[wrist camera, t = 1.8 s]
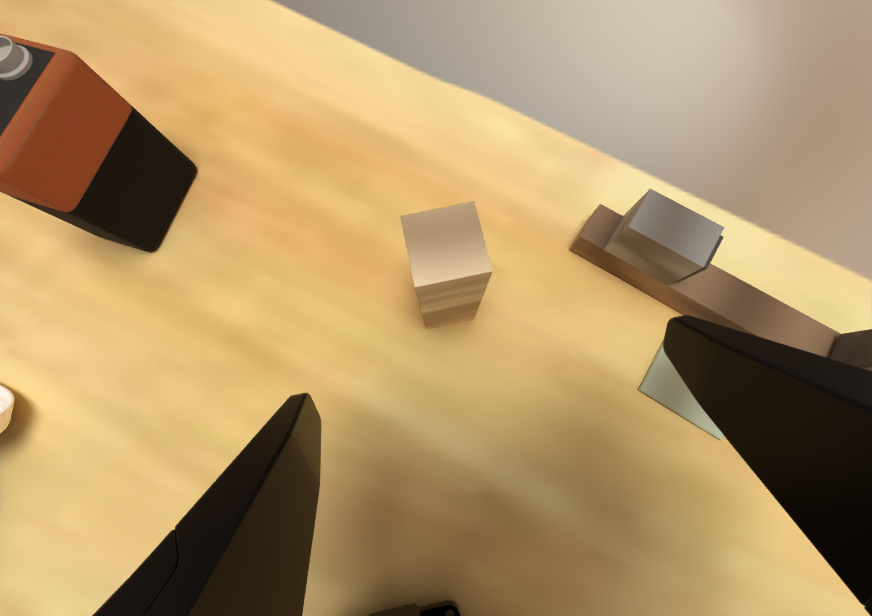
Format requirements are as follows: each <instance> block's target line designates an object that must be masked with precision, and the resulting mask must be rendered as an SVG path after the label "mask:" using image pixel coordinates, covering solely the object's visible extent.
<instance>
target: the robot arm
mask: <svg viewBox="0 0 872 616" xmlns="http://www.w3.org/2000/svg"><path fill="white" fill-rule="evenodd" d="M663 349H664V352H665V354H666V356H667V357H668V359H669V360H670V362H671V363H672V365H673V366H674V368H675V369H676V371H677V372H678V374H679V375H680V377H681V379H682V380H683V382H684V383H685V385H686V386H687V388H688V389H689V391H690V392H691V394H692V395H693V397H694V398H695V399H696V401H697V402H698V404H699V405H700V406H701V408H702V409H703V410H704V412H705V413H706V414H707V415H708V417H709V418H710V419H711V420H712V421H713V423H714V424H715V425H716V426H717V428H718V429H719V430H720V431H721V432H722V434H723V435H724V436H725V437H726V439H727V440H728V441H729V442H730V444H731V445H732V446H733V447H734V448H735V450H736V451H737V452H738V453H739V455H740V456H741V457H742V458H743V459H744V461H745V462H746V463H747V464H748V466H749V467H750V468H751V469H752V471H753V472H754V473H755V474H756V475H757V477H758V478H759V479H760V480H761V482H762V483H763V484H764V485H765V486H766V488H767V489H768V490H769V491H770V493H771V494H772V495H773V496H774V497H775V499H776V500H777V501H778V502H779V504H780V505H781V506H782V507H783V509H784V510H785V511H786V512H787V513H788V515H789V516H790V517H791V518H792V520H793V521H794V522H795V523H796V524H797V526H798V527H799V528H800V529H801V531H802V532H803V533H804V534H805V536H806V537H807V538H808V539H809V540H810V542H811V543H812V544H813V545H814V547H815V548H816V549H817V550H818V551H819V553H820V554H821V555H822V556H823V558H824V559H825V560H826V561H827V562H828V564H829V565H830V566H831V567H832V569H833V570H834V571H835V572H836V574H837V575H838V576H839V577H840V578H841V580H842V581H843V582H844V583H845V585H846V586H847V587H848V588H849V589H850V591H851V592H852V593H853V594H854V596H855V597H856V598H857V599H858V601H859V602H860V603H861V604H862V605H864V606H865V607H864V608H865V610H866V611H867V612H868V613H869V614H870V616H872V371H870V370H866V369H863V368H860V367H857V366H853V365H850V364H847V363H844V362H840V361H837V360H834V359H830V358H827V357H824V356H821V355H817V354H814V353H811V352H808V351H804V350H801V349H798V348H794V347H791V346H788V345H785V344H781V343H778V342H775V341H772V340H768V339H765V338H762V337H759V336H755V335H752V334H749V333H746V332H742V331H739V330H736V329H732V328H729V327H726V326H723V325H719V324H716V323H713V322H710V321H706V320H703V319H700V318H697V317H693V316H690V315H683V316H678V317H674V318H671V319H670V320H669V321H668V323H667V328H666V332H665V337H664V341H663ZM320 462H321V418H320V415H319V413H318V411H317V409H316V406H315V404H314V402H313V400H312V398H311V396H310V395H309V394H308V393H301V394H296V395H292V396H290V397H289V398H288V399H287V400H286V401H285V403H284V404H283V405H282V406H281V407H280V408H279V409H278V410H277V412H276V413H275V414H274V415H273V416H272V417H271V418H270V420H269V421H268V422H267V423H266V424H265V425H264V426H263V427H262V429H261V430H260V431H259V432H258V433H257V434H256V435H255V437H254V438H253V439H252V440H251V441H250V442H249V443H248V444H247V446H246V447H245V448H244V449H243V450H242V451H241V452H240V454H239V455H238V456H237V457H236V458H235V459H234V460H233V461H232V463H231V464H230V465H229V466H228V467H227V468H226V469H225V471H224V472H223V473H222V474H221V475H220V476H219V477H218V478H217V480H216V481H215V482H214V483H213V484H212V485H211V486H210V488H209V489H208V490H207V491H206V492H205V493H204V494H203V495H202V497H201V498H200V499H199V500H198V501H197V502H196V503H195V505H194V506H193V507H192V508H191V509H190V510H189V511H188V512H187V514H186V515H185V516H184V517H183V518H182V519H181V520H180V522H179V523H178V524H177V525H176V526H175V530H172V531H171V532H170V533H169V534H168V535H167V536H166V537H165V538H164V539H163V541H162V542H161V543H160V544H159V545H158V546H157V547H156V549H155V550H154V551H153V552H152V553H151V554H150V555H149V556H148V557H147V558H146V559H145V561H144V562H143V563H142V564H141V565H140V566H139V567H138V568H137V569H136V570H135V572H134V573H133V574H132V575H131V576H130V577H129V578H128V579H127V580H126V581H125V582H124V583H123V584H122V585H121V586H120V587H119V588H118V590H117V591H116V592H115V593H114V594H113V595H112V596H111V597H110V598H109V599H108V600H107V601H106V602H105V603H104V604H103V605H102V606H101V607H100V608H99V609H98V610H97V611H96V612H95V613H94V614H93V615H92V616H302V613H303V606H304V598H305V591H306V584H307V576H308V569H309V562H310V555H311V547H312V540H313V533H314V525H315V518H316V511H317V503H318V496H319V487H320ZM448 610H452V611H453V612H454V616H461V615H460V610H459V607H458V605H457V604H456V603H455V602H454V601H444V602H440V603H435V604H431V605H427V606H422V607H420V606H418V605H416V604H411V605H407V606H402V607H398V608H394V609H389V610H385V611H381V612H376V613H372V614H369V616H446V614H445V613H446V612H447V611H448Z"/></svg>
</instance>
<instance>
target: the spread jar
mask: <svg viewBox="0 0 872 616" xmlns="http://www.w3.org/2000/svg"><path fill="white" fill-rule="evenodd" d="M13 405H14V395H13V394H12V392H11V391H10V390H8V389H7V388H6V387H4V386H1V385H0V433H1V432H3V431H4V430H5V429H6V428H7V426H8V425H9V423H10V420H11V415H12V410H13Z"/></svg>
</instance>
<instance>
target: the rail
mask: <svg viewBox="0 0 872 616" xmlns="http://www.w3.org/2000/svg"><path fill="white" fill-rule="evenodd" d="M723 229H724V227H723V226H721V225H719V224H717V223H715V222H713V221H711V220H709V219H707V218H705V217H703V216H702V215H700V214H698V213H696V212H694V211H692V210H690V209H688V208H686V207H684V206H682V205H680V204H679V203H677V202H675V201H673V200H671V199H669V198H667V197H665V196H663V195H661V194H659V193H658V192H656V191H654V190H652V189H650V190H649V191H648V192H647V193H646V194H645V195H644V196H643V197H642V198H641V199H640V200H639V201H638V202H637V203H636V204H635V205H634V206H633V207H632V208H631V209H630V210H629V211H628V212H627V213H626V214H625V215H624V216H622V215H620V214H618V213H616V212H614V211H612V210H611V209H609V208H607V207H605V206H603V205H601V204H600V205H599V206H598V207H597V208H596V210H595V211H594V212H593V213H592V215H591V216H590V217H589V218H588V220H587V221H586V223H585V225H584V226H583V228H582V229H581V231H580V233H579V234H578V236H577V238H576V239H575V241H574V243H573V244H572V246H571V248H570V249H569V250H571V251H572V252H574V253H576V254H578V255H579V256H581V257H583V258H585V259H586V260H588V261H590V262H592V263H593V264H595V265H597V266H599V267H600V268H602V269H604V270H606V271H608V272H609V273H611V274H613V275H615V276H616V277H618V278H620V279H622V280H623V281H625V282H627V283H629V284H630V285H632V286H634V287H636V288H637V289H639V290H641V291H643V292H645V293H646V294H648V295H650V296H652V297H653V298H655V299H657V300H659V301H660V302H662V303H664V304H666V305H667V306H669V307H671V308H673V309H674V310H676V311H678V312H680V313H682V314H683V315H690V316H693V317H697V318H700V319H703V320H706V321H710V322H713V323H716V324H719V325H723V326H726V327H729V328H732V329H736V330H739V331H742V332H746V333H749V334H752V335H755V336H759V337H762V338H765V339H768V340H772V341H775V342H778V343H781V344H785V345H788V346H791V347H794V348H798V349H801V350H804V351H808V352H811V353H814V354H817V355H821V356H824V357H827V358H830V359H834V360H837V361H840V362H844V363H847V364H850V365H853V366H857V367H860V368H863V369H866V370H870V371H872V329H871V330H864V331H858V332H851V333H845V334H840V333H838V332H836V331H834V330H833V329H831V328H829V327H827V326H825V325H823V324H821V323H820V322H818V321H816V320H814V319H812V318H810V317H809V316H807V315H805V314H803V313H801V312H799V311H797V310H796V309H794V308H792V307H790V306H788V305H786V304H784V303H783V302H781V301H779V300H777V299H775V298H773V297H772V296H770V295H768V294H766V293H764V292H762V291H760V290H759V289H757V288H755V287H753V286H751V285H749V284H747V283H746V282H744V281H742V280H740V279H738V278H736V277H735V276H733V275H731V274H729V273H727V272H725V271H723V270H722V269H720V268H718V267H716V266H714V265H712V264H710V262H711V260H712V258H713V256H714V254H715V253H716V251H717V249H718V247H719V245H720V243H721V241H722V239H723V236H721V233H722V231H723ZM638 390H639V391H640V392H642V393H644V394H645V395H647V396H648V397H650V398H652V399H653V400H655V401H657V402H658V403H660V404H662V405H663V406H665V407H666V408H668V409H670V410H671V411H673V412H675V413H676V414H678V415H680V416H681V417H683V418H684V419H686V420H688V421H689V422H691V423H693V424H694V425H696V426H698V427H699V428H701V429H702V430H704V431H706V432H707V433H709V434H711V435H712V436H714V437H716V438H717V439H719V440H722V438H723V436H724V435H723V434H722V432H721V431H720V430H719V429H718V428H717V426H716V425H715V424H714V423H713V421H712V420H711V419H710V418H709V417H708V415H707V414H706V413H705V412H704V410H703V409H702V408H701V406H700V405H699V404H698V402H697V401H696V399H695V398H694V397H693V395H692V394H691V392H690V391H689V389H688V388H687V386H686V385H685V383H684V382H683V380H682V379H681V377H680V375H679V374H678V372H677V371H676V369H675V368H674V366H673V365H672V363H671V362H670V360H669V359H668V357H667V356H666V354H665V352H664V349H663V343H662V345H661V346H660V348H659V350H658V352H657V354H656V356H655V358H654V360H653V362H652V364H651V366H650V368H649V369H648V371H647V373H646V375H645V377H644V379H643V381H642V383H641V385H640V387H639V389H638Z"/></svg>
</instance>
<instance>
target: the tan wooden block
mask: <svg viewBox="0 0 872 616" xmlns="http://www.w3.org/2000/svg"><path fill="white" fill-rule="evenodd" d="M400 217H401V222H402V227H403V232H404V237H405V242H406V246H407V251H408V256H409V261H410V266H411V271H412V276H413V280H414V285H415V290H416V293H417V297H418V301H419V304H420V308H421V312H422V316H423V319H424V323H425V327H426V329H429V328H433V327H438V326H443V325H448V324H452V323H457V322H462V321H467V320H471V319H474V317H475V315H476V312H477V310H478V307H479V305H480V302H481V299H482V297H483V294H484V292H485V289H486V287H487V284H488V282H489V279H490V276H491V274H492V267H491V263H490V260H489V256H488V252H487V248H486V244H485V240H484V236H483V233H482V229H481V225H480V221H479V217H478V213H477V210H476V206H475V202H474V201H473V202H468V203H463V204H458V205H453V206H448V207H443V208H438V209H433V210H428V211H423V212H418V213H413V214H408V215H403V216H400Z"/></svg>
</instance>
